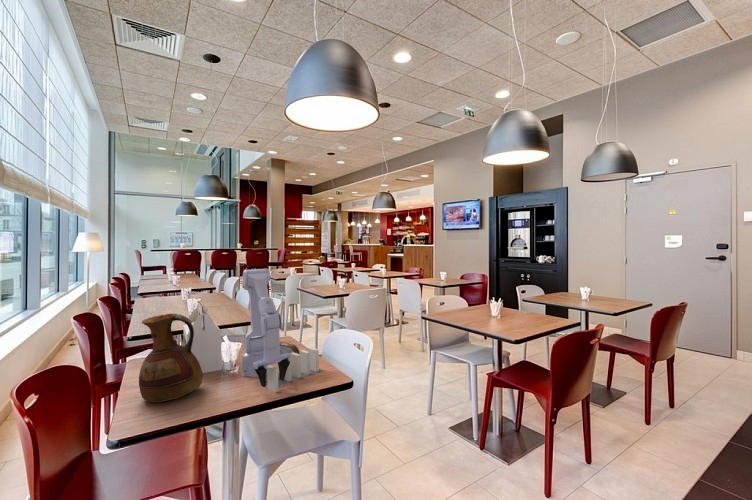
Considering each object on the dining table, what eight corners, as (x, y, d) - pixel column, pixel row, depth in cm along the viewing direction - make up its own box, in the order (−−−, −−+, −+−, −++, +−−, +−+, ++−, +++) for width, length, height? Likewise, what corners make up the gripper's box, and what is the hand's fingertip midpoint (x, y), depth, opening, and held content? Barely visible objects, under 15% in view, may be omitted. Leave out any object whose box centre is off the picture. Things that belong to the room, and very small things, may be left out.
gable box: (222, 370, 157) (220, 306, 156) (188, 376, 150) (185, 309, 149) (215, 356, 176) (213, 299, 175) (184, 362, 169) (182, 302, 168)
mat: (276, 388, 136) (276, 387, 136) (265, 383, 141) (265, 382, 141) (324, 371, 152) (324, 370, 152) (312, 367, 158) (312, 366, 158)
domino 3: (298, 378, 144) (297, 355, 144) (290, 375, 148) (290, 353, 148) (301, 377, 146) (300, 354, 145) (294, 374, 149) (293, 352, 149)
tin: (300, 363, 164) (300, 344, 164) (295, 365, 161) (295, 346, 161) (277, 357, 172) (277, 340, 172) (272, 359, 169) (271, 342, 169)
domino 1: (274, 394, 131) (274, 369, 131) (267, 390, 134) (266, 366, 134) (278, 392, 132) (277, 368, 132) (271, 389, 135) (270, 365, 135)
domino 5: (316, 371, 151) (315, 350, 151) (308, 369, 154) (308, 348, 154) (318, 370, 152) (318, 349, 152) (311, 368, 155) (311, 347, 155)
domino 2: (288, 381, 141) (287, 358, 141) (281, 378, 145) (280, 356, 144) (291, 380, 142) (291, 357, 142) (284, 377, 146) (283, 355, 145)
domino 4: (307, 374, 148) (306, 353, 147) (300, 372, 151) (299, 350, 151) (310, 373, 149) (309, 352, 149) (303, 371, 152) (302, 349, 152)
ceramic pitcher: (141, 392, 135) (138, 312, 134) (201, 381, 145) (198, 306, 144) (137, 413, 118) (133, 322, 117) (205, 399, 128) (202, 315, 127)
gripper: (259, 353, 125) (260, 392, 125) (294, 343, 135) (295, 379, 136) (249, 349, 129) (250, 387, 130) (284, 340, 140) (285, 375, 140)
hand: (272, 383), depth 133 cm, fingers open, 7 cm apart
